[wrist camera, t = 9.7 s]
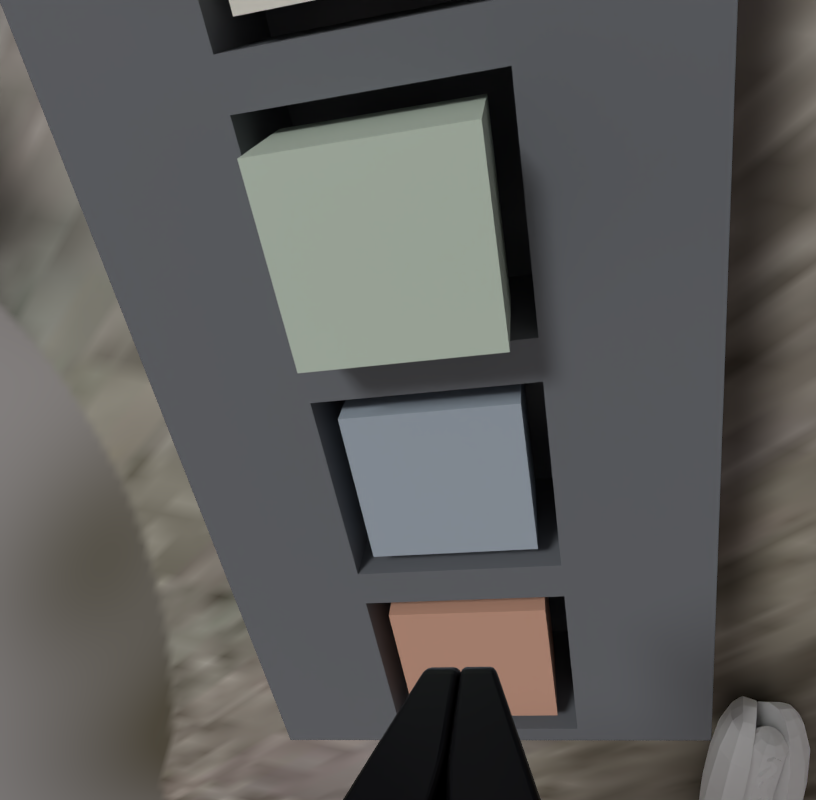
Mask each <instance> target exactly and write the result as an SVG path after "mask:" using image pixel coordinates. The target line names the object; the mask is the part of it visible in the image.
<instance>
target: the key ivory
mask: <svg viewBox="0 0 816 800" xmlns="http://www.w3.org/2000/svg"><path fill="white" fill-rule="evenodd" d="M308 1H313V0H229V3H230V7H231V11H232V15H233V17H234V16H239V15H244V14H249V13H254V12H259V11H264V10H269V9H274V8H279V7H284V6H289V5H294V4H298V3H303V2H308Z"/></svg>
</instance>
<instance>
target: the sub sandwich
mask: <svg viewBox="0 0 816 800" xmlns="http://www.w3.org/2000/svg"><path fill="white" fill-rule="evenodd" d="M809 759H810V747H809V742H808V738H807V734H806V730H805V725H804V723H803V721H802V718H801V716H800V714H799V713H798V712H797V711H796V710H795V709H794V708H793V707H792V706H791V705H790V704H787V703H783V702H762V701H758V702H757V701H756V700H753V699H750V698H747V697H744V696H742V697H739V698H737V699H736V700H734V701H733V702H731V704H730V705H729V706H728V708H727V709H726V710H725V712H724V713H723V714H722V716H721V717H720V718H719V721H718V723H717V726H716V729H715V732H714V734H713V737H712V740H711V742H710V745H709V749H708V753H707V757H706V761H705V765H704V770H703V774H702V780H701V787H700V795H699V800H803V797H804V793H805V789H806V785H807V778H808V769H809Z"/></svg>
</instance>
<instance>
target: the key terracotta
mask: <svg viewBox="0 0 816 800" xmlns="http://www.w3.org/2000/svg"><path fill="white" fill-rule="evenodd" d="M389 618H390V622H391V626H392V630H393V634H394V637H395V641H396V645H397V649H398V653H399V657H400V660H401V664H402V668H403V672H404V676H405V680H406V683H407V687H408V691H409V694H410V692H411V690H412V689H413V687H414V686H415V684H416V682H417V681H418V679H419V678H420V676H421V675H422V673H423V672H424V671H425V670H426V669H428V668H431V667H455V668H458V669H459V670H460V672H461V671H462V669H463V668H465V667H493V668H494V669H495V670H496V671H497V674H498V677H499V679H500V682H501V685H502V688H503V691H504V694H505V697H506V700H507V703H508V706H509V709H510V712H511V715H512V716H541V715H558V714H557V695H556V676H555V657H554V641H553V633H552V624H551V615H550V606H549V597H531V598H503V599H475V600H447V601H419V602H391V607H390V612H389Z"/></svg>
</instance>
